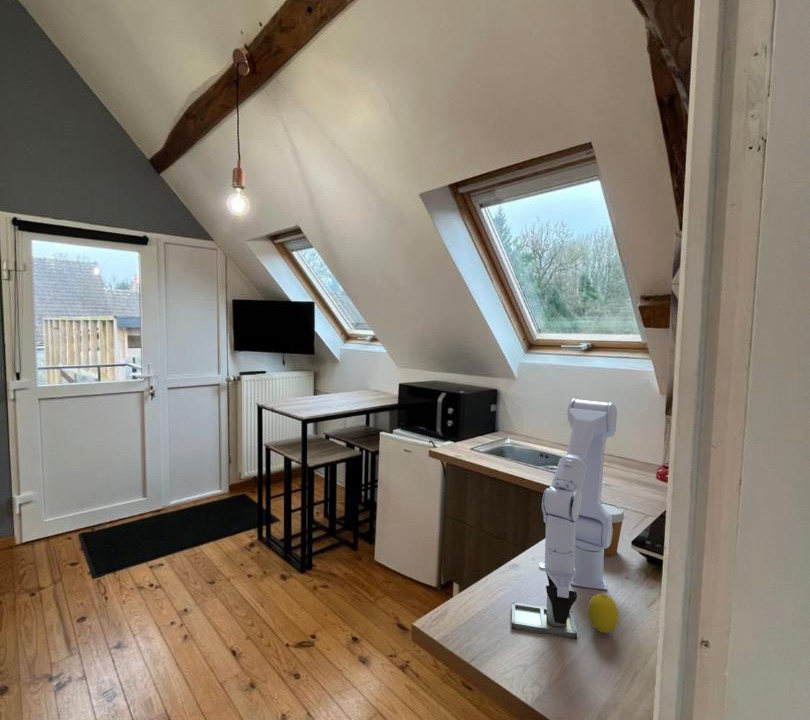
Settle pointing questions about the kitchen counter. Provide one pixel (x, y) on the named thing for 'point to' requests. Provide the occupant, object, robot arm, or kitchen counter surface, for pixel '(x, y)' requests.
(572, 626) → the checker tray
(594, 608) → the lemon
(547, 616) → the cell
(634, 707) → the kitchen counter surface
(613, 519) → the disposable coffee cup
